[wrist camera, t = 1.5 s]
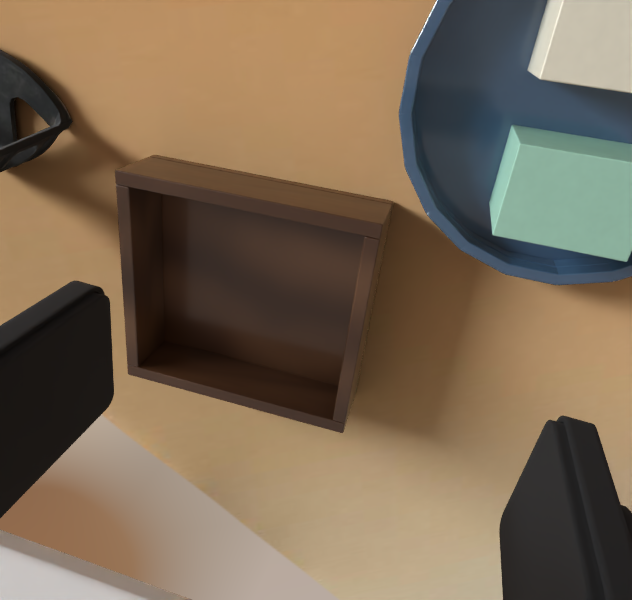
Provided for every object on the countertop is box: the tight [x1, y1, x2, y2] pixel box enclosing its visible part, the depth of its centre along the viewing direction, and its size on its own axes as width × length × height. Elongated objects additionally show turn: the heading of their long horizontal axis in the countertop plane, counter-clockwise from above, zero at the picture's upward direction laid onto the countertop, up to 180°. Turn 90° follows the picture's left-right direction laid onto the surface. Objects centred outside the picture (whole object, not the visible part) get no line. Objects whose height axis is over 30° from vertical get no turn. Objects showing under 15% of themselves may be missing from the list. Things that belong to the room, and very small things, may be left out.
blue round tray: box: [399, 0, 632, 285], centre depth 24 cm, size 16×16×2 cm
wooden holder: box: [115, 155, 393, 433], centre depth 32 cm, size 14×15×4 cm
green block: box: [489, 125, 632, 262], centre depth 24 cm, size 4×6×5 cm
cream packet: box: [528, 0, 632, 93], centre depth 21 cm, size 4×6×5 cm
